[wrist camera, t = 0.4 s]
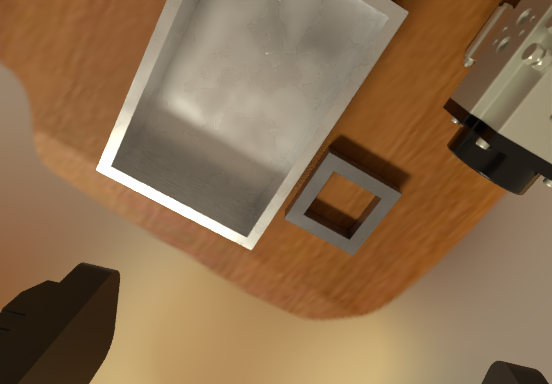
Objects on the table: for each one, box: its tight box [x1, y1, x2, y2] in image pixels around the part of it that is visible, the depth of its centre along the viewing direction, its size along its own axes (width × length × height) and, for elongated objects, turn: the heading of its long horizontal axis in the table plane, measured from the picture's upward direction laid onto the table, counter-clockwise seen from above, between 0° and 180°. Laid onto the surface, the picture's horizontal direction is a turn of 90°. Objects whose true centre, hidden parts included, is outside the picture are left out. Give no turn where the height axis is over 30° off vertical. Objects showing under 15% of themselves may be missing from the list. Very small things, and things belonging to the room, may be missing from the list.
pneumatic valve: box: [443, 0, 552, 195], centre depth 21 cm, size 6×12×12 cm, turn 152°
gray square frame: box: [284, 146, 402, 255], centre depth 31 cm, size 6×6×1 cm
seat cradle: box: [96, 0, 409, 250], centre depth 26 cm, size 17×11×5 cm, turn 150°
